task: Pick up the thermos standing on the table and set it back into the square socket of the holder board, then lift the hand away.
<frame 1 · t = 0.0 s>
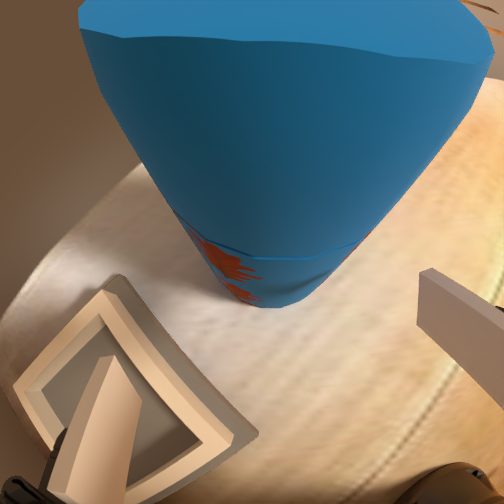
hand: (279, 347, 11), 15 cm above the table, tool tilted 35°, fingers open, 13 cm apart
thermos: (270, 255, 28), on the table
holder: (118, 411, 23), on the table
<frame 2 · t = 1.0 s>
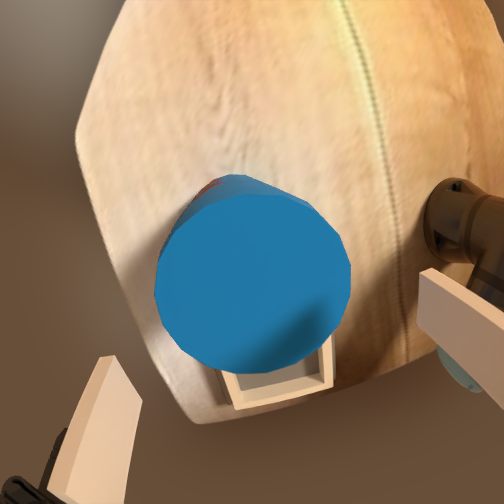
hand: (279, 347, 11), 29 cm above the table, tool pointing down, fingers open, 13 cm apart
thermos: (233, 213, 39), on the table
holder: (273, 347, 45), on the table
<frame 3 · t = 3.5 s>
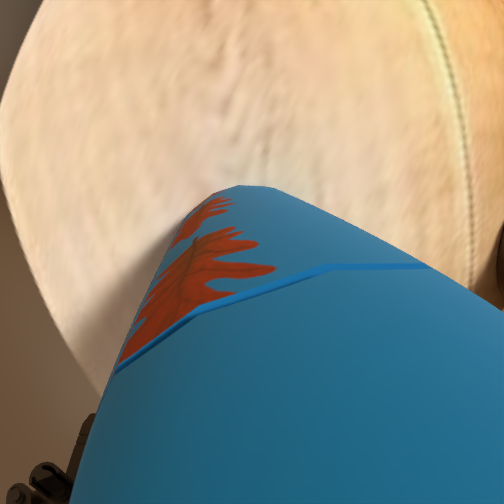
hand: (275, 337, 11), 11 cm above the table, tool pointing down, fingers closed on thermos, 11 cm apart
thermos: (246, 253, 22), on the table, touching gripper
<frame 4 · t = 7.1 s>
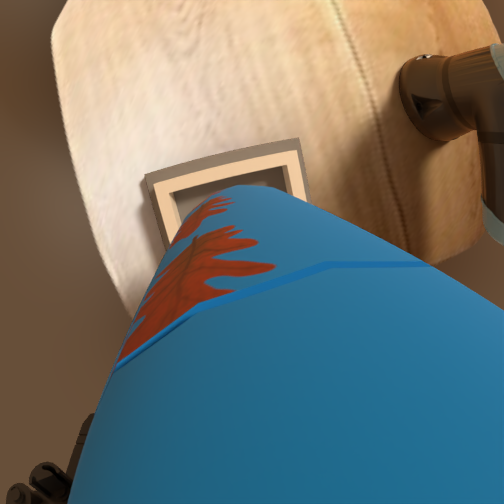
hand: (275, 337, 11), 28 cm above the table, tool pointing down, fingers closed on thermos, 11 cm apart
thermos: (246, 253, 22), point 17 cm above the table, touching gripper
holder: (238, 227, 39), on the table
when the fingers open (14 cm above the table, at t = 11.0 s): thermos drops 1 cm, resting on holder.
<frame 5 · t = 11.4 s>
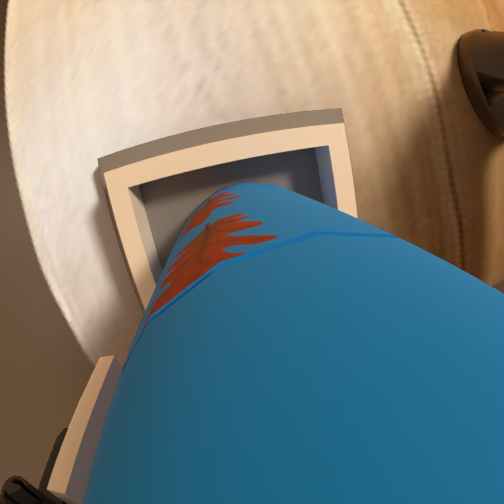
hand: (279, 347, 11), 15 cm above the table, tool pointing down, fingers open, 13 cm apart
thermos: (248, 246, 23), point 1 cm above the table, touching holder
holder: (243, 243, 25), on the table
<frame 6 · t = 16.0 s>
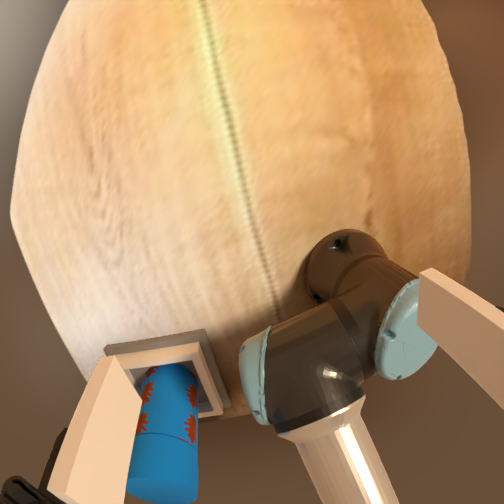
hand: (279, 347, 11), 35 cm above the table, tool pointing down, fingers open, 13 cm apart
thermos: (171, 381, 51), point 1 cm above the table, touching holder
holder: (170, 377, 52), on the table
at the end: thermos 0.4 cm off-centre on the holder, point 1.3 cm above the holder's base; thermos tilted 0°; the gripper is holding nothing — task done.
